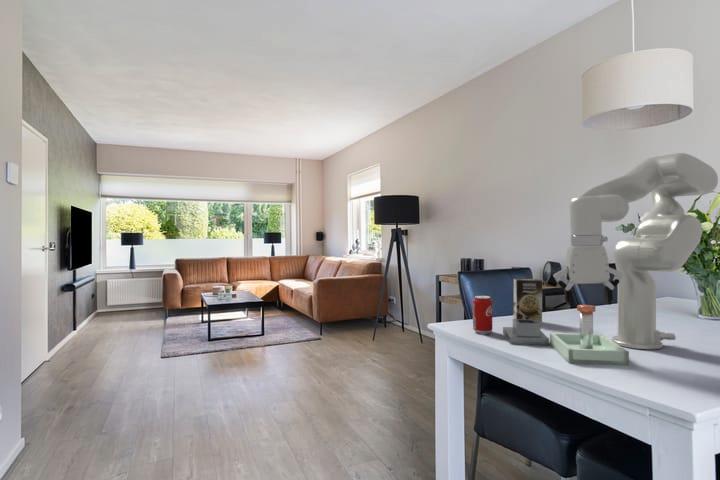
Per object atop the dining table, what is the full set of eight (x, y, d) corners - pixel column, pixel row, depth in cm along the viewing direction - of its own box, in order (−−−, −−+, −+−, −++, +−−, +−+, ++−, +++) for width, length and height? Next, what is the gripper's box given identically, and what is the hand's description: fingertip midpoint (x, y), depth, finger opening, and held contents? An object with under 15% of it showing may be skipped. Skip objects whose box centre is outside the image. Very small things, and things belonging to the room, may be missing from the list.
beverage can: (493, 334, 139) (493, 298, 139) (473, 333, 140) (473, 297, 140) (491, 330, 145) (491, 295, 145) (472, 329, 146) (472, 295, 146)
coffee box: (516, 324, 154) (516, 280, 154) (513, 320, 161) (512, 278, 161) (542, 324, 153) (542, 280, 153) (538, 321, 159) (538, 278, 159)
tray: (601, 346, 123) (601, 334, 123) (628, 365, 105) (628, 351, 105) (550, 344, 125) (550, 333, 125) (568, 363, 108) (568, 349, 108)
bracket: (537, 334, 139) (537, 315, 139) (548, 345, 125) (548, 324, 125) (503, 332, 141) (502, 315, 141) (510, 343, 127) (509, 323, 127)
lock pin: (592, 348, 117) (592, 304, 117) (598, 353, 113) (598, 307, 112) (575, 348, 118) (574, 304, 118) (580, 352, 113) (580, 307, 113)
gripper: (615, 239, 117) (617, 300, 118) (549, 242, 120) (551, 302, 121) (627, 240, 110) (629, 306, 110) (556, 243, 113) (558, 307, 113)
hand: (588, 303), depth 116 cm, fingers open, 9 cm apart
